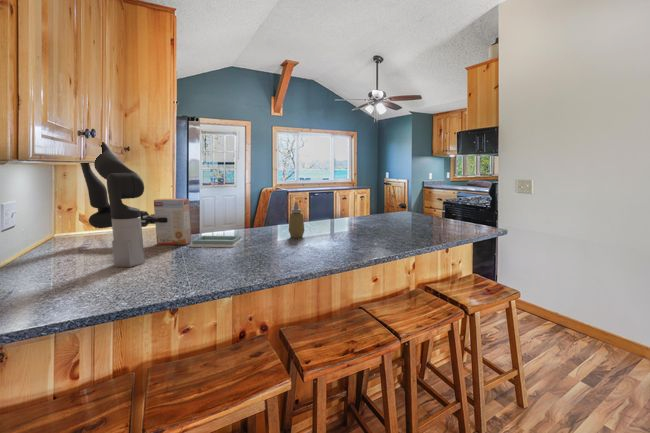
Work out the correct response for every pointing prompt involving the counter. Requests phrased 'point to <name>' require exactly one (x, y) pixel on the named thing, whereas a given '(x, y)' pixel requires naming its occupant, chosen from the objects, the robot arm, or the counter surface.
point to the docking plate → (216, 241)
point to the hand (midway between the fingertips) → (170, 219)
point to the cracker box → (173, 221)
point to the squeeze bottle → (296, 222)
